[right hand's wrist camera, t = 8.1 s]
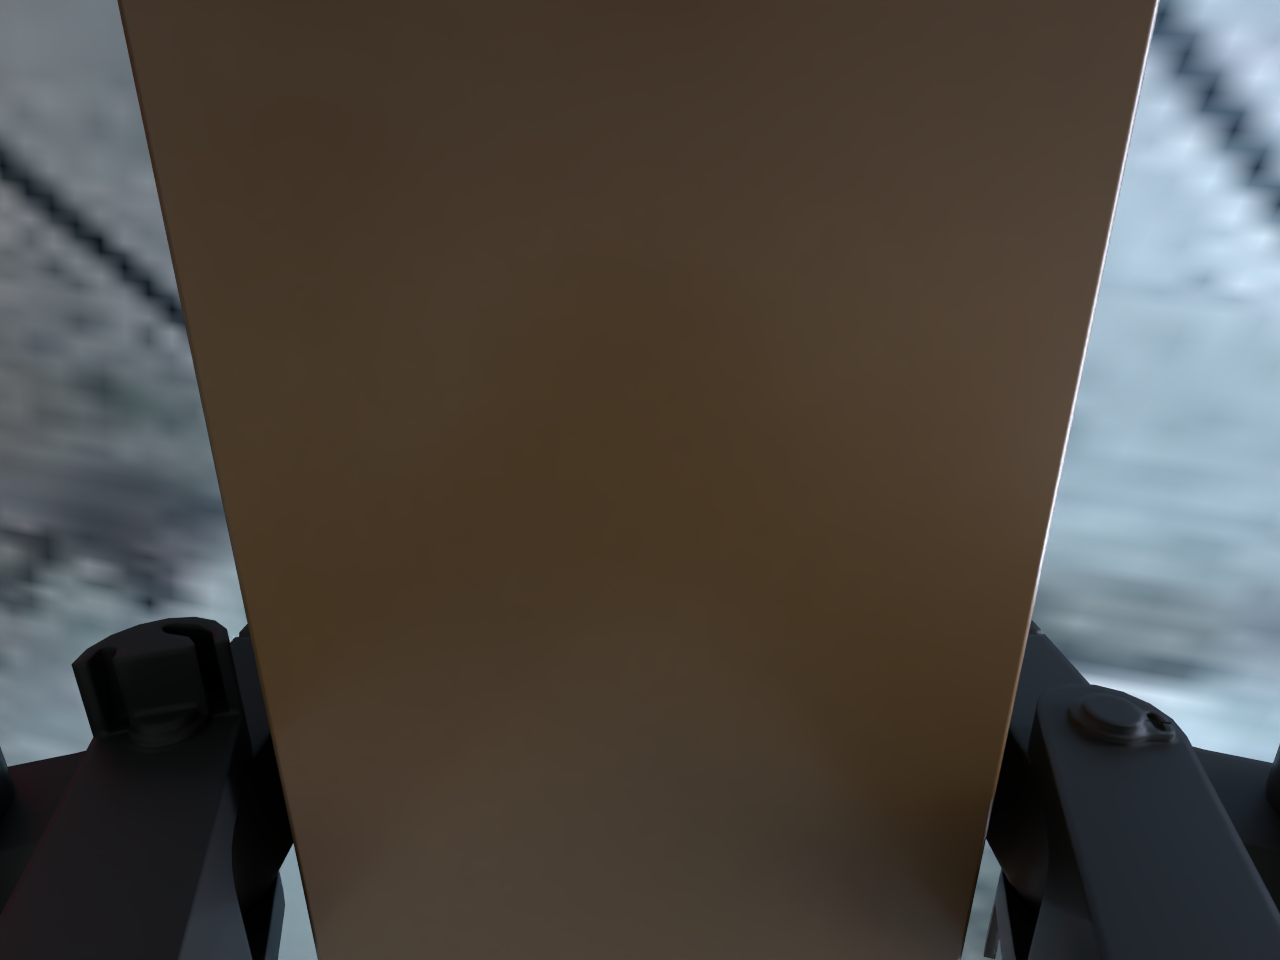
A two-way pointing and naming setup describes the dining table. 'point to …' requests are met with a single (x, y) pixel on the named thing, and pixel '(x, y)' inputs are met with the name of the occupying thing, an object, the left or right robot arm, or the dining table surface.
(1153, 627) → the dining table surface
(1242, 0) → the dining table surface
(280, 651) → the bar
